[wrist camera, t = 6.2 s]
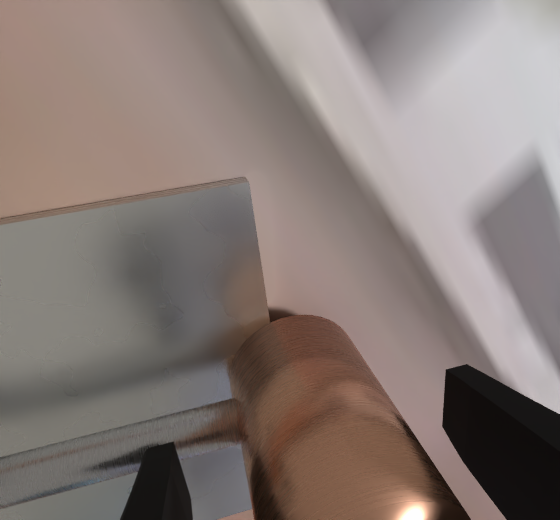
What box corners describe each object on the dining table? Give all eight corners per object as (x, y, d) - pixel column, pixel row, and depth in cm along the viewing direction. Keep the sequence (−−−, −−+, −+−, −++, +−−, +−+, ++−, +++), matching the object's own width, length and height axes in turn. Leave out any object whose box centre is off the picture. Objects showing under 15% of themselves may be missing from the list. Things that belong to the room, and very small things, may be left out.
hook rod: (351, 301, 13) (488, 476, 7) (357, 403, 14) (470, 606, 9) (-234, 434, 10) (-699, 846, 5) (-144, 537, 12) (-412, 927, 6)
